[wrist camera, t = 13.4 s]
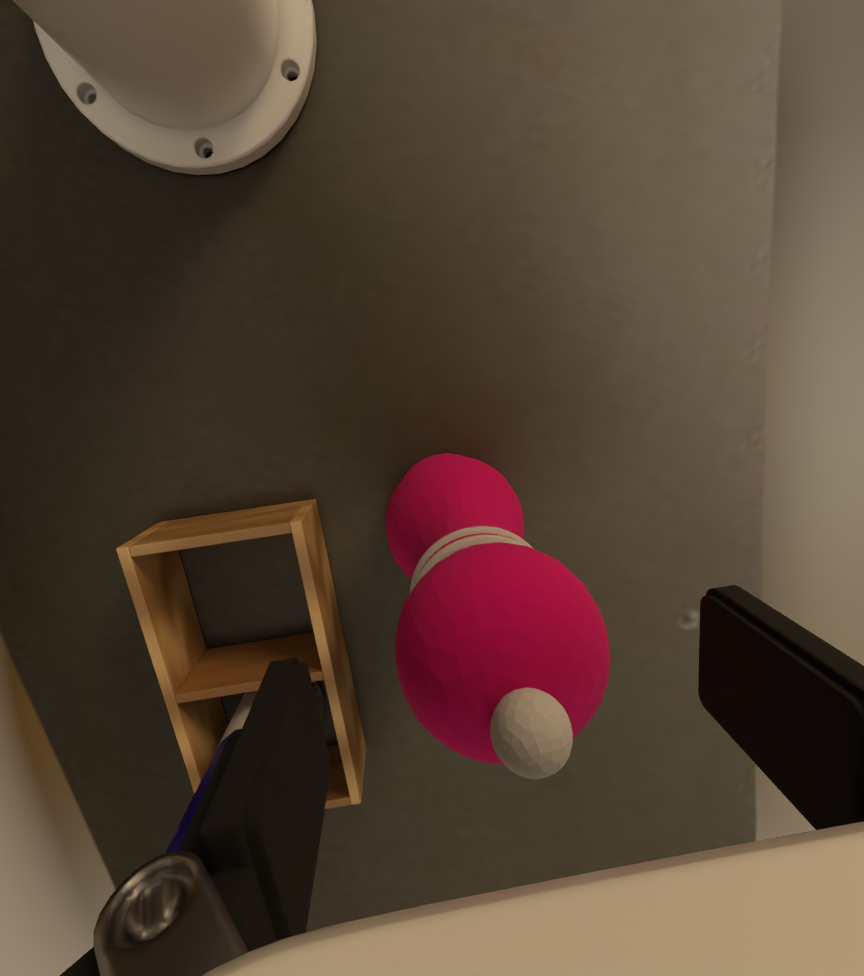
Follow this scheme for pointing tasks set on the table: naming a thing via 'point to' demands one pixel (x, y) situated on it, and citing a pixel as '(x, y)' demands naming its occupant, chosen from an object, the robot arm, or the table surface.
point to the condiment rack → (240, 668)
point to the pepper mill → (490, 622)
